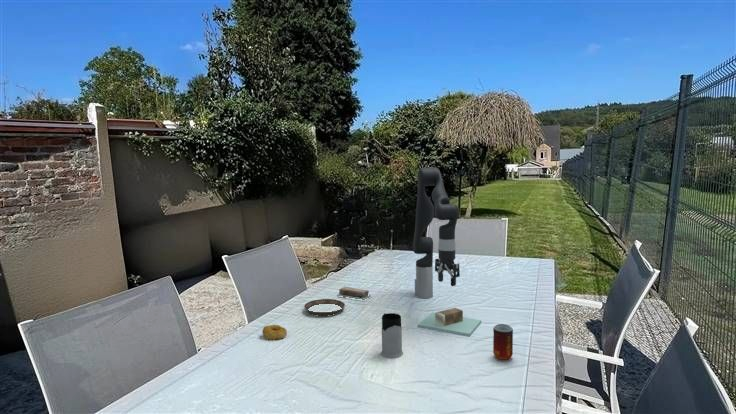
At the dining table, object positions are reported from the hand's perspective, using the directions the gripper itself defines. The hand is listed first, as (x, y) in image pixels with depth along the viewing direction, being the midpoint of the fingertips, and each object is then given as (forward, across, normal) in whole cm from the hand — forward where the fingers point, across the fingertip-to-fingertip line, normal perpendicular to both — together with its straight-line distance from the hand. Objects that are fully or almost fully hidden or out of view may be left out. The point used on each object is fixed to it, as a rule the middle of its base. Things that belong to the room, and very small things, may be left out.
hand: (446, 283), depth 198 cm
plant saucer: (+20, -49, -39) cm, 66 cm away
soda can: (+20, +37, -4) cm, 42 cm away
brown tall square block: (+16, 0, +7) cm, 17 cm away
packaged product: (+20, -61, -15) cm, 66 cm away
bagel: (+20, -31, -71) cm, 80 cm away
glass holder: (+20, +9, -37) cm, 43 cm away
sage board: (+20, 0, +1) cm, 20 cm away
